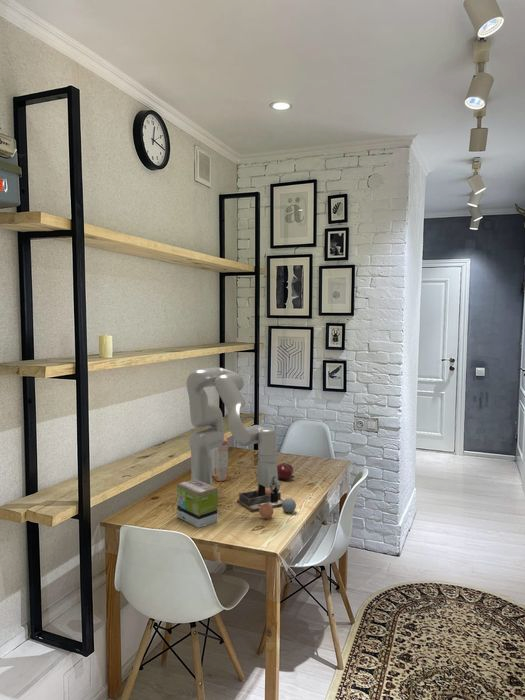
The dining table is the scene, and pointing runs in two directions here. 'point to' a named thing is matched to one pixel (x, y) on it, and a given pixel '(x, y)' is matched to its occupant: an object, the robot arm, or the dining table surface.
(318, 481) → the dining table surface
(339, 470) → the dining table surface
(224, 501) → the dining table surface
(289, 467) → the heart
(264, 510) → the terracotta ball
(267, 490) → the seated terracotta ball
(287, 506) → the slate ball
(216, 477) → the cracker box
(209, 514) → the tea box
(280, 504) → the grey divided tray
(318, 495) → the dining table surface
